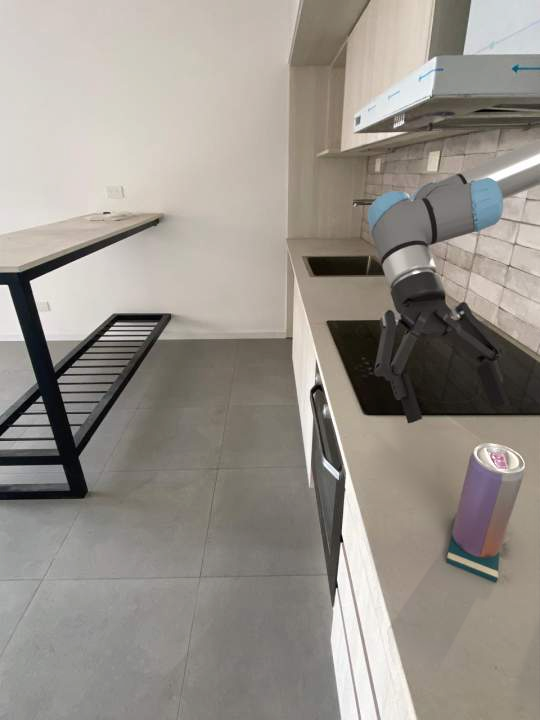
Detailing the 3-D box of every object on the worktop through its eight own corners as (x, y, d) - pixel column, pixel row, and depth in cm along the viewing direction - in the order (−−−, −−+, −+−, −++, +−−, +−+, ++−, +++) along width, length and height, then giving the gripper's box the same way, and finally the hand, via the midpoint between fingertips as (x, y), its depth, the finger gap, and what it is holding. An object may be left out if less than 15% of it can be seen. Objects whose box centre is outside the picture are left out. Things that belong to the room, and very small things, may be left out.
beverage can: (453, 555, 53) (475, 468, 47) (449, 521, 58) (468, 438, 52) (503, 566, 52) (532, 477, 45) (494, 530, 57) (519, 446, 50)
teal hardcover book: (455, 516, 60) (456, 512, 60) (499, 532, 57) (501, 528, 57) (446, 562, 53) (447, 558, 53) (496, 583, 50) (497, 578, 50)
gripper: (468, 287, 68) (515, 406, 61) (332, 301, 63) (366, 432, 56) (497, 262, 61) (554, 393, 54) (346, 276, 56) (388, 422, 49)
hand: (458, 413), depth 55 cm, fingers open, 13 cm apart
